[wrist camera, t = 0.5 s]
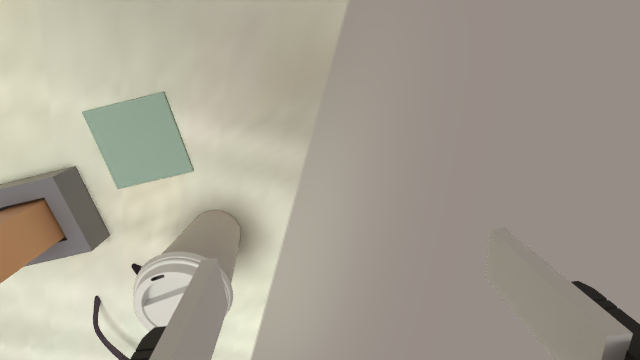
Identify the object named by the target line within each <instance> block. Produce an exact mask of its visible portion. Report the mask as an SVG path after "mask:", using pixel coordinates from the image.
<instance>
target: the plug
mask: <svg viewBox="0 0 640 360" xmlns="http://www.w3.org/2000/svg"><path fill="white" fill-rule="evenodd" d="M64 237H65V234H64V232H63V230H62V229H61V227H60V225H59V223H58V221H57V220H56V218H55V216H54V214H53V212H52V211H51V209H50V207H49V205H48V203H47V202H46V200H45V198H39V199H35V200H31V201H27V202H22V203H18V204H15V205H13V206H11V207H9V208H7V209H5V210H3V211H1V212H0V283H1V282H3V281H4V280H6V279H7V278H8V277H10V276H11V275H13V274H14V273H15V272H17V271H18V270H20V269H21V268H22V267H24V266H25V265H26V264H28V263H29V262H31V261H32V260H33V259H35V258H36V257H38V256H39V255H40V254H42V253H43V252H45V251H46V250H47V249H49V248H50V247H51V246H53V245H54V244H56V243H57V242H58V241H60V240H61V239H63V238H64Z"/></svg>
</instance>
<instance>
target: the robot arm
mask: <svg viewBox="0 0 640 360" xmlns="http://www.w3.org/2000/svg"><path fill="white" fill-rule="evenodd" d="M486 279H487V280H488V281H489V282H490V284H491V285H492V286H493V287H494V288H495V290H496V291H497V292H498V293H499V294H500V295H501V297H502V298H503V299H504V300H505V301H506V303H507V304H508V305H509V306H510V307H511V309H512V310H513V311H514V312H515V313H516V315H517V316H518V317H519V318H520V319H521V321H522V322H523V323H524V324H525V325H526V327H527V328H528V329H529V330H530V331H531V333H532V334H533V335H534V336H535V337H536V339H537V340H538V341H539V342H540V343H541V345H542V346H543V347H544V348H545V349H546V350H547V352H548V353H549V354H550V355H551V357H553V359H554V360H640V324H639V323H637V322H636V321H635V320H633V319H632V318H631V317H630V316H628V315H627V314H626V313H624V312H623V311H622V310H621V309H618V308H617V306H616V305H614V304H613V303H612V302H610V301H609V300H608V301H607V299H606V298H605V297H604V296H603V295H601V294H600V293H599V292H598V291H596V290H595V289H594V288H592V287H590V286H588V285H586V284H583V283H581V282H579V281H574V282H570V281H569V280H568V279H566V278H565V277H564V276H563V275H562V274H561V273H559V272H558V271H557V270H556V269H554V268H553V267H552V266H551V265H550V264H548V263H547V262H546V261H545V260H544V259H542V258H541V257H540V256H539V255H538V254H536V253H535V252H534V251H533V250H532V249H530V248H529V247H528V246H527V245H525V244H524V243H523V242H522V241H521V240H519V239H518V238H517V237H516V236H515V235H513V234H512V233H511V232H510V231H508V230H507V229H506V228H498V229H490V230H489V241H488V253H487V265H486ZM227 308H228V301H227V297H226V293H225V288H224V284H223V280H222V276H221V271H220V267H219V263H218V258H216V259H206V260H201V262H200V264H199V266H198V268H197V270H196V271H195V273H194V275H193V277H192V279H191V281H190V283H189V285H188V287H187V288H186V290H185V292H184V294H183V296H182V298H181V300H180V302H179V304H178V306H177V307H176V309H175V311H174V313H173V315H172V317H171V319H170V321H169V323H168V325H167V326H162V327H154V328H153V329H152V330H151V331H150V332H149V333H148V334H147V335H146V336H145V337H143V339H142V340H141V342H140V344H139V345H138V347H137V349H136V352H134V354H133V356H132V357H131V359H130V360H211V358H212V355H213V352H214V349H215V345H216V342H217V339H218V336H219V333H220V330H221V327H222V323H223V320H224V317H225V314H226V311H227Z"/></svg>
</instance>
